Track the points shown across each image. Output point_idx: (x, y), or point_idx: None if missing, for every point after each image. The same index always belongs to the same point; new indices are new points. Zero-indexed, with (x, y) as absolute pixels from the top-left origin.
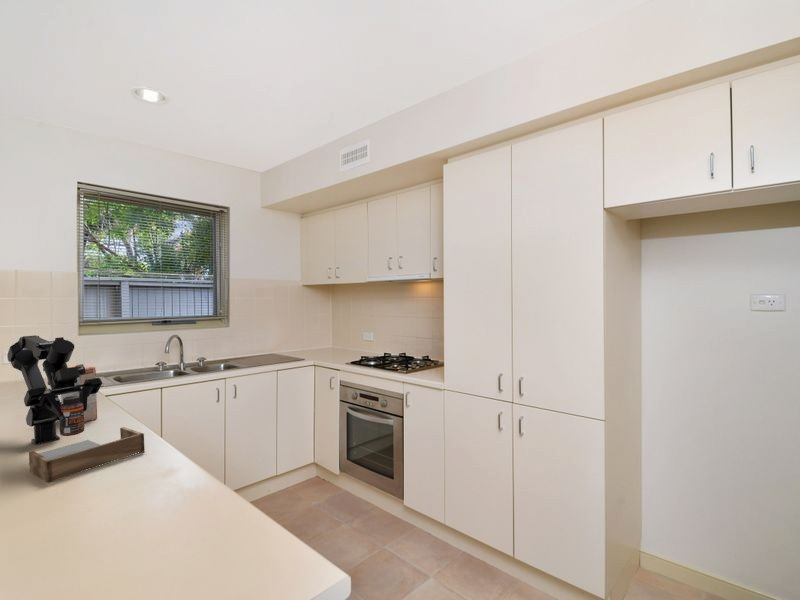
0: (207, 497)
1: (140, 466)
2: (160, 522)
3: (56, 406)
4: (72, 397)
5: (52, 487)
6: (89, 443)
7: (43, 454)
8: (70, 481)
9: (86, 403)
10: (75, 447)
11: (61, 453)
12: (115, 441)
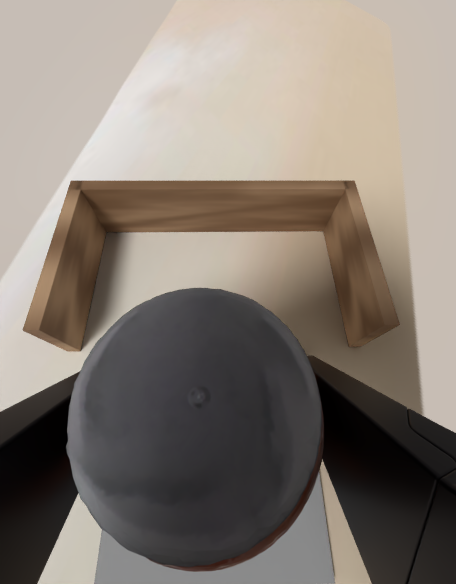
0: (190, 22)
1: (170, 151)
2: (255, 20)
3: (374, 400)
4: (187, 365)
5: None
6: None
7: (304, 524)
8: None
9: (58, 385)
10: None
11: None
12: (164, 182)
